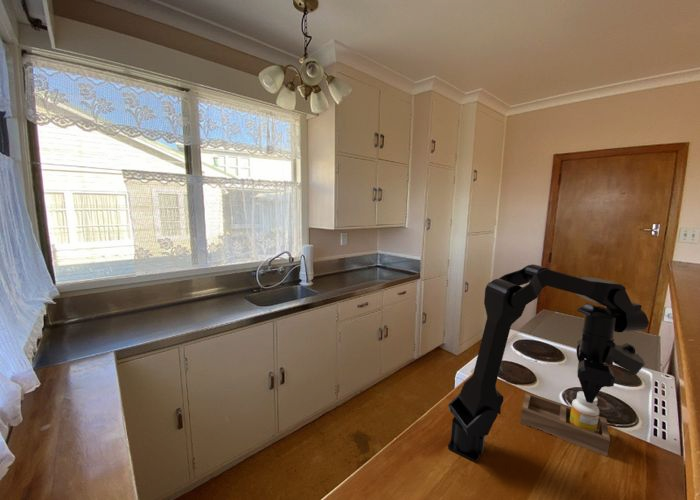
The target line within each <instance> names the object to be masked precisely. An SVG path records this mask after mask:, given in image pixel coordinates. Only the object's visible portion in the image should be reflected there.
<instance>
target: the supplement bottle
mask: <svg viewBox="0 0 700 500" xmlns="http://www.w3.org/2000/svg"><path fill="white" fill-rule="evenodd" d="M597 405H598V397H597V396H596V398H595V399H594V401H593V403H589V402H587V401H586V399H585V396H584V393H583V390H582V391H581V390H580V391H577V393H576V398H575V399H573V400H572V402H571V406H570V407H571V413H570V420H569V424H572V425H575V426H578V427H581V428H583V429H586V430H589V431H592V432H595V433H596V431H597V425H598V419H599V416H600V408H599V407H598V406H597Z"/></svg>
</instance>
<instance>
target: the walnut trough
mask: <svg viewBox="0 0 700 500" xmlns="http://www.w3.org/2000/svg"><path fill="white" fill-rule="evenodd" d="M571 407H572V406H570V405H566V404H564V403H561V402H558V401H556V400H551V399H549V398H546V397H544V396H543V397H542V396H540V395H537V394H533V393H530V392H528V391H526V392H525V395H524V399H523V403H522V407H521V414H520V421H519V423H520V424H521V423H523V424H522V425H524V424H525V425H524V426H527V425H528V427H529V426H531V427H530V428H532V427H534V428H536V429H535V430H537V429H539V430H538V431H540V430H542V431H544V432H543V433H545V432H546V433H545V434H547V433H549V434H548V435H550V434H552V435H554V436H553V437H555V436H556V437H555V438H558V437H559V438H558V439H560V438H561V439H560V440H564V441H565V440H566V441H565V442H568V443H571V444H574V445H576V446H579V447H580V448H583V449H586V450H589V451H592V452H594V453H596V454H599V455H601V456H605V457H608V454H609V449H610V443H611V440H610V439H611V438H610V433H609V428H608V427H609V426H608V423H607V422H608V421H607V418H606V417H603V416H600V415H599V419H598V425H597V431H596V433H595V432H592V431H589V430H586V429H583V428H581V427H578V426H575V425H572V424H569V420H570V413H571ZM534 428H533V429H534ZM542 431H541V432H542ZM552 435H551V436H552Z"/></svg>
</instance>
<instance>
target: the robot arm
mask: <svg viewBox="0 0 700 500" xmlns="http://www.w3.org/2000/svg"><path fill="white" fill-rule="evenodd" d="M546 287H550V288H554V289H557V290H562V291H565V292H568V293H569V292H570V293H573V294H576V295H577V296H578V297H581V298H583V299H584V300H586V301H588V302H592V303H595V304H597V305H599V306H597V305H594V304H592V303H588V302H586V303H585V304H584V305H581V306H580V307H579V308H577V312H578V313H581V314H583V315H584V316H583V318H584V319H583V325H582V329H581V333H580V334H581V335H580V336H581V339H580V340H578V341H576V347H575V348H576V349H575V350H576V358H577V361H578V362H577V372H576V373H577V375H576V376H577V379H578V380H579V383H580V387H581V389H582V391H583V393H584V396H585V399H586V401H587V402H589V403H593V401H594V399H595V398H596V397H597V396H598V394H599V393H600V391H601V390H602V388H604V387H606V388H610V387H614V385H615V379H616V377H615V373H614V371H613V370H612V369H611V368H610V367H609V366H613V365H614V364H615V365H617V366H619V367H620V368H622V369H624V370H626V371H628V373H630V374H632V375H637V374H638V373H639V372H640V371H641V369H642V368H644V366H645V364H646V363H645V361H644V359H643V358H642V356H640V354H638V353H636V348H635V346H634V345H632V344H630V343H624V344H621V345H620V344H616V342H614V340H615V339H614V335H615V332H616V333H632V332H643V331H645V330H647V329H648V327H649V324H650V321H649V319H648V318H649V317H648V316H647V314H646V313H645V312H644V311H643V310H642V304H639V303H635V302H632V301H631V299H630V297H629V295H628V292H627V291H626V289H627V288H626V286H625V285H623V284H621V283H618V282H614V281H609V280H605V279H601V278H597V277H588V276H586V277H585V276H584V277H577V276H573V275H570V274H566V273H563V272H559V271H556V270H552V269H550V268H549V267H545V266H541V265H538V264H528V265H526V266H524V267H523V268H521V269H519V270H515V271H513V272H509V273H506V274H504V275H502V276H500V277H499V278H496V279H493V280H491V281H490V282H488V283H487V284H486V286H485V289H484V299H483V300H484V302H483V304H484V305H483V306H484V308H485V313H486V321H485V325H484V329H483V333H482V338H481V342H480V345H479V349H478V353H477V358H476V362H475V365H474V370H473V373H472V376H470V377H469V378H468V379H467V380H465V382H464V383H463V385H462V388H461V391H460V393H458V395H456V396H455V397H454V398H453V399H452V400H451V401H450V402H449V403H448V408H449V412H450V413H451V414H452V415H453V416H454V417H453V418H452V422H451V433H450V440H449V442H448V444H447V449H448V450H450V451H453V452H454V453H456V454H459V455H460V456H463V457H464V458H466V459H468V460H471V461H473V462H476V463H477V462H479V461H478V460H479V458H480V456H482V455H483V452H484V450H485V442H486V436H488V435H489V433H490V431H491V430H492V428H493V424H494V423H495V421H496V420H497V418H498V415H501V413H502V412H501V408H502V405H503V403H504V395H502V394H501V392H500V391H498V390H497V381H498V378H499V374H500V370H501V366H502V363H503V358H504V355H505V350H506V347H507V344H508V339H509V335H510V332H511V327H512V325H513V324H514V323H515V322H516V321H518V320H519V319H520V318H521V317H522V316H523V314H524V311H525V309H526V307H527V305H528V304H529V303H531V302H533V301H534V300H536V299H538V297H539V295H540V294H541V292H542V290H543V289H544V288H546ZM600 305H601V306H600ZM604 364H606V365H604Z"/></svg>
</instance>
